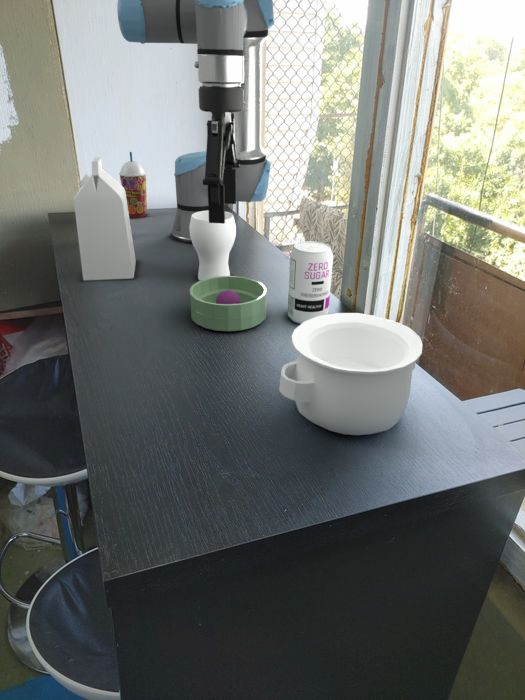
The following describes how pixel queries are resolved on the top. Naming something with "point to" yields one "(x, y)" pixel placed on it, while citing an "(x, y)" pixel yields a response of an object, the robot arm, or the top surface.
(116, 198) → the milk
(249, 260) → the top surface
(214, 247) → the cup
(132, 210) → the smoothie
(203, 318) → the bowl
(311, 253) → the supplement can
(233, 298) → the ball
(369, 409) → the pot
